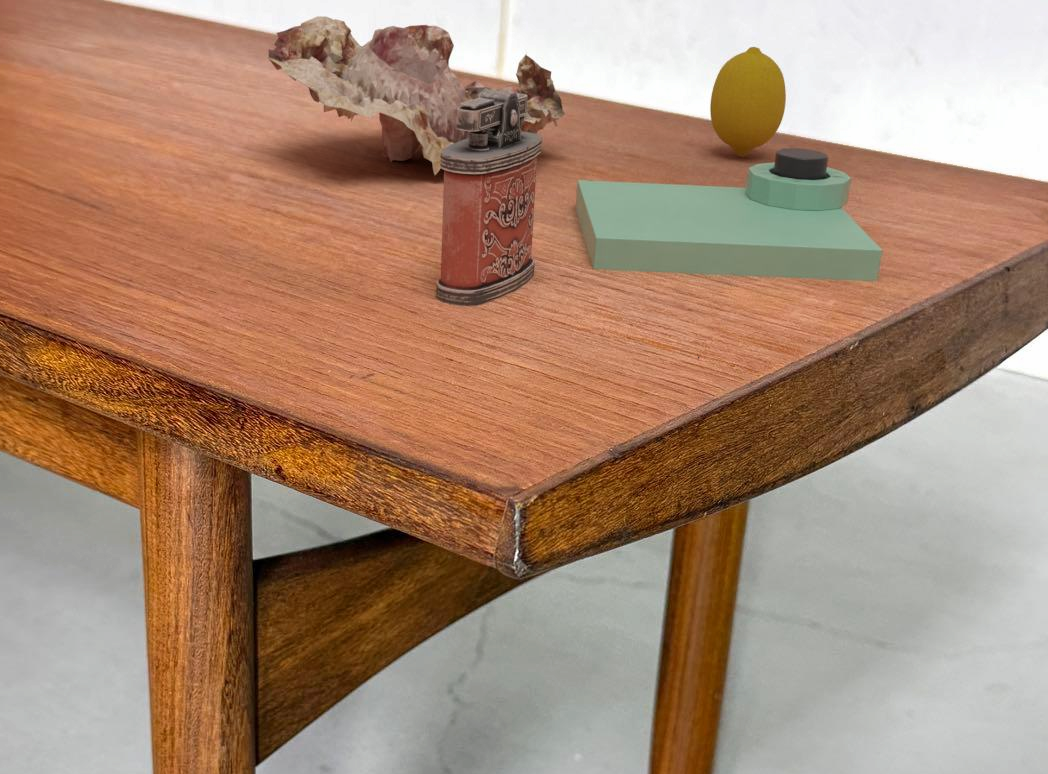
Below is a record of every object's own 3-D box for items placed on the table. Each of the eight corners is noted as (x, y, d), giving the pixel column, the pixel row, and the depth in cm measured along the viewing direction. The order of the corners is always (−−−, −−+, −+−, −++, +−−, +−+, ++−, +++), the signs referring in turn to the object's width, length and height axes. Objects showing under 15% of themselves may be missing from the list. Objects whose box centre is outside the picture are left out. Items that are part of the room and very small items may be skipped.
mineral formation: (292, 176, 94) (356, 35, 89) (220, 62, 104) (274, -70, 100) (564, 255, 108) (633, 136, 103) (477, 147, 118) (535, 35, 113)
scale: (828, 218, 96) (836, 164, 95) (887, 283, 83) (897, 221, 82) (574, 207, 95) (578, 152, 94) (593, 271, 82) (598, 208, 81)
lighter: (491, 264, 82) (500, 78, 78) (547, 274, 81) (559, 86, 77) (421, 300, 76) (426, 99, 71) (480, 311, 75) (489, 108, 70)
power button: (818, 174, 94) (822, 149, 93) (829, 185, 91) (833, 160, 90) (768, 171, 93) (771, 146, 93) (778, 183, 91) (781, 157, 90)
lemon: (736, 146, 116) (748, 39, 113) (792, 159, 113) (807, 50, 109) (689, 153, 113) (701, 43, 109) (746, 167, 109) (760, 54, 106)
